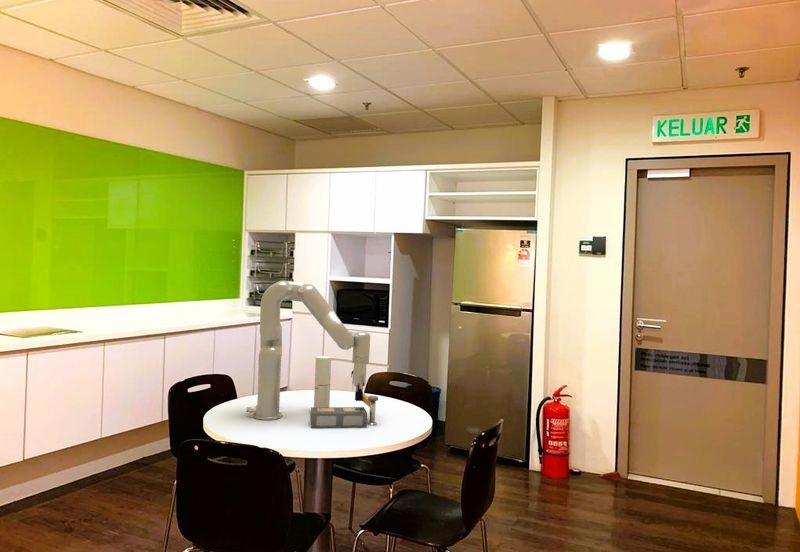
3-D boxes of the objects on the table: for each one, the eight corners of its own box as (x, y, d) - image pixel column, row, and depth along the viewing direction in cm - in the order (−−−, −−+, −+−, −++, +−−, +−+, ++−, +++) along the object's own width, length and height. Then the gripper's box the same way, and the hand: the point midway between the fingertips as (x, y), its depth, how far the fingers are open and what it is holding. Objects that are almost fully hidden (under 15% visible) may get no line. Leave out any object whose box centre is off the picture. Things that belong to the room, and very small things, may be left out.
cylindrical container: (326, 413, 275) (328, 358, 274) (311, 412, 276) (313, 357, 276) (331, 410, 282) (333, 356, 281) (316, 408, 283) (318, 355, 283)
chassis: (311, 428, 249) (312, 413, 248) (310, 421, 260) (310, 406, 260) (366, 427, 253) (367, 412, 253) (363, 420, 264) (363, 406, 264)
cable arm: (353, 396, 281) (354, 386, 281) (362, 395, 283) (363, 386, 283) (369, 409, 256) (369, 398, 256) (379, 408, 258) (379, 398, 258)
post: (368, 425, 257) (368, 401, 257) (366, 422, 261) (367, 399, 261) (377, 425, 258) (378, 401, 258) (375, 422, 262) (376, 399, 262)
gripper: (350, 357, 277) (348, 396, 278) (354, 362, 263) (352, 404, 263) (366, 357, 279) (364, 397, 279) (371, 362, 264) (369, 404, 264)
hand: (358, 400), depth 271 cm, fingers closed
